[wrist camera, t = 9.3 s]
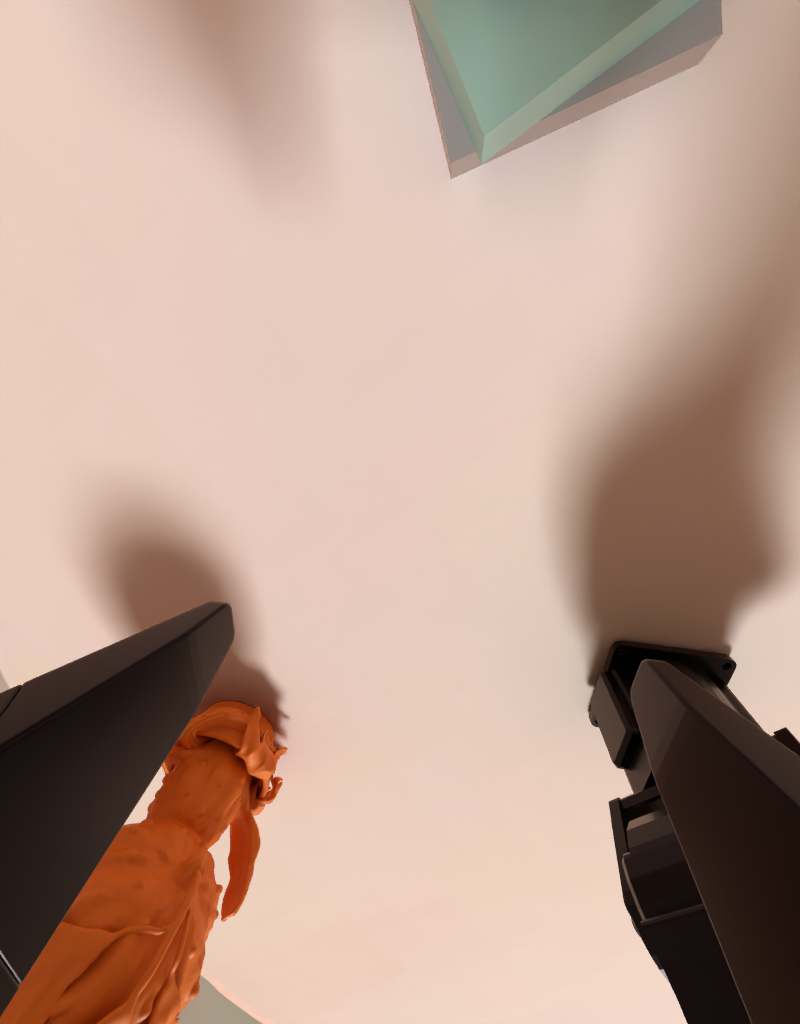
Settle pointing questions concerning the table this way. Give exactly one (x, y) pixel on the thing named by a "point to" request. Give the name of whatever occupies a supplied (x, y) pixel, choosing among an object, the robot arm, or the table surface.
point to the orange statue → (160, 884)
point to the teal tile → (531, 54)
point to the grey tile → (630, 75)
